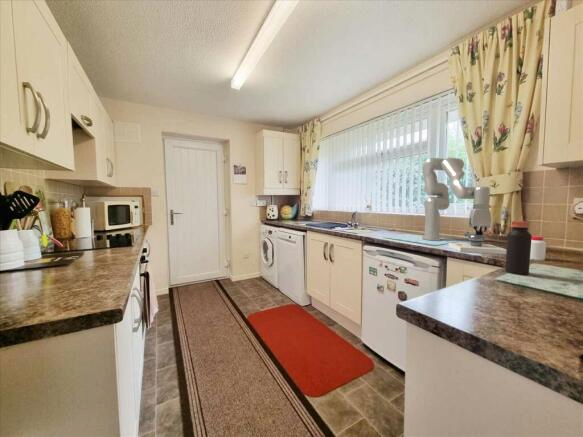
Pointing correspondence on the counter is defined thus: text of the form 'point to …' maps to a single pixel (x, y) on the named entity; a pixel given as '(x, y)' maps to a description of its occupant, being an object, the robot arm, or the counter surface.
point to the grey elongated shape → (475, 239)
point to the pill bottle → (538, 248)
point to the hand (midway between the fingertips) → (478, 237)
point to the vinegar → (518, 248)
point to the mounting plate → (477, 248)
